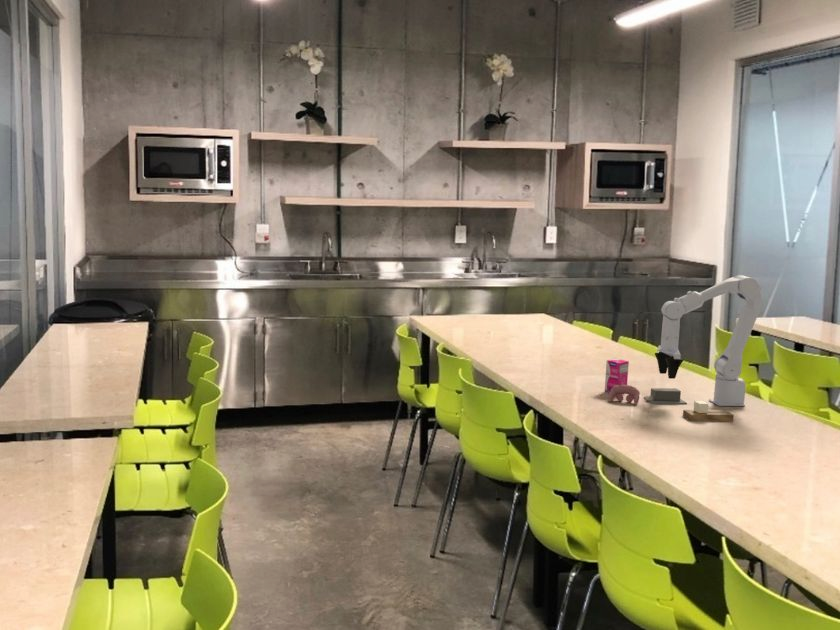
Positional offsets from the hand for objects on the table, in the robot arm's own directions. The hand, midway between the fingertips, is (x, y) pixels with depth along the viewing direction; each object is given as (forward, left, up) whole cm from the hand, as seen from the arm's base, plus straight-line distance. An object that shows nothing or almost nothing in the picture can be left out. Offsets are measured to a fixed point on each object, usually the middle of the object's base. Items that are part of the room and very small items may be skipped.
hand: (667, 375), depth 288 cm
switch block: (-5, +22, -9) cm, 24 cm away
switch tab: (-2, +22, -7) cm, 23 cm away
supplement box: (+13, -13, -9) cm, 21 cm away
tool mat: (0, 0, -9) cm, 9 cm away
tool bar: (0, 0, -8) cm, 8 cm away
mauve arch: (+15, +2, -9) cm, 18 cm away
